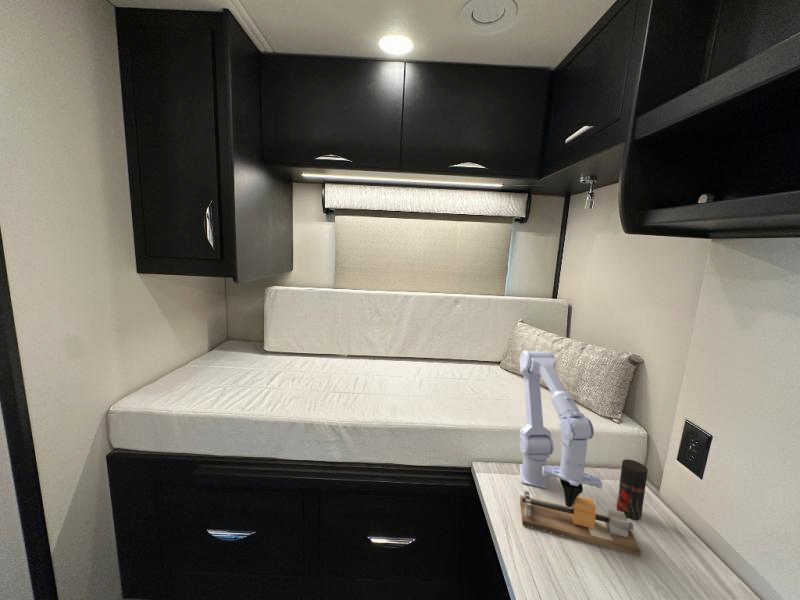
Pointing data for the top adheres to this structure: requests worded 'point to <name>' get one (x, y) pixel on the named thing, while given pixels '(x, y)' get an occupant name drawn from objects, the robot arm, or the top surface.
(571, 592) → the top surface
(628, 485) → the deodorant
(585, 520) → the orange notched block
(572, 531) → the cord board
